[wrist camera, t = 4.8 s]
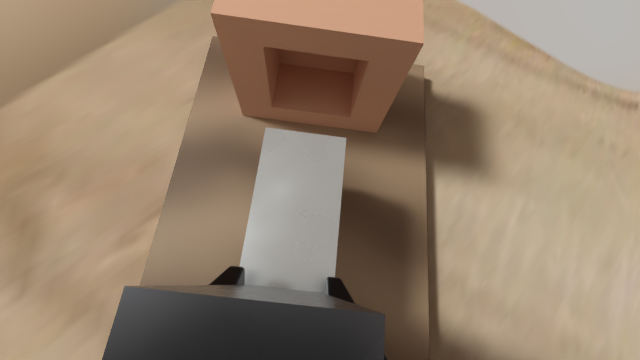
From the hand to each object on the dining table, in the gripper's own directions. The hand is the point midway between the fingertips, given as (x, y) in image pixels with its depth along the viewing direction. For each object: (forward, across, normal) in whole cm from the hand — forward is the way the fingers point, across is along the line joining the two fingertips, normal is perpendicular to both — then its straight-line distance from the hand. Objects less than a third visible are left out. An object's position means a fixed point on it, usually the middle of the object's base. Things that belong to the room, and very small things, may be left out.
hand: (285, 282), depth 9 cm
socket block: (+12, 0, -4) cm, 13 cm away
